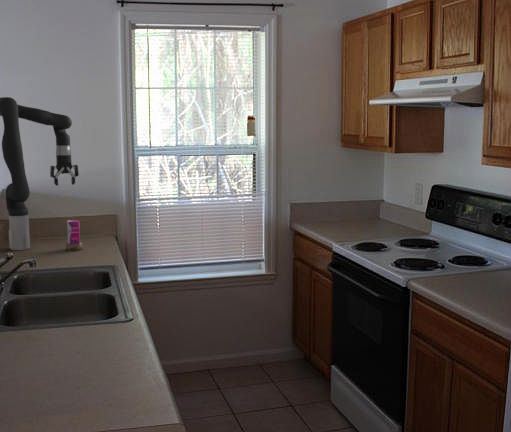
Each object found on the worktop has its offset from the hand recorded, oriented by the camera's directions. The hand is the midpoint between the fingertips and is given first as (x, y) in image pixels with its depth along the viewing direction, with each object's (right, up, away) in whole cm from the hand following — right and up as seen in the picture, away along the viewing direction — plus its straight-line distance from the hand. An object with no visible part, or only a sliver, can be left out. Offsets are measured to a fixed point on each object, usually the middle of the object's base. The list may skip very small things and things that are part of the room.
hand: (65, 185), depth 356 cm
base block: (+9, -33, -16) cm, 38 cm away
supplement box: (+9, -30, -17) cm, 36 cm away
